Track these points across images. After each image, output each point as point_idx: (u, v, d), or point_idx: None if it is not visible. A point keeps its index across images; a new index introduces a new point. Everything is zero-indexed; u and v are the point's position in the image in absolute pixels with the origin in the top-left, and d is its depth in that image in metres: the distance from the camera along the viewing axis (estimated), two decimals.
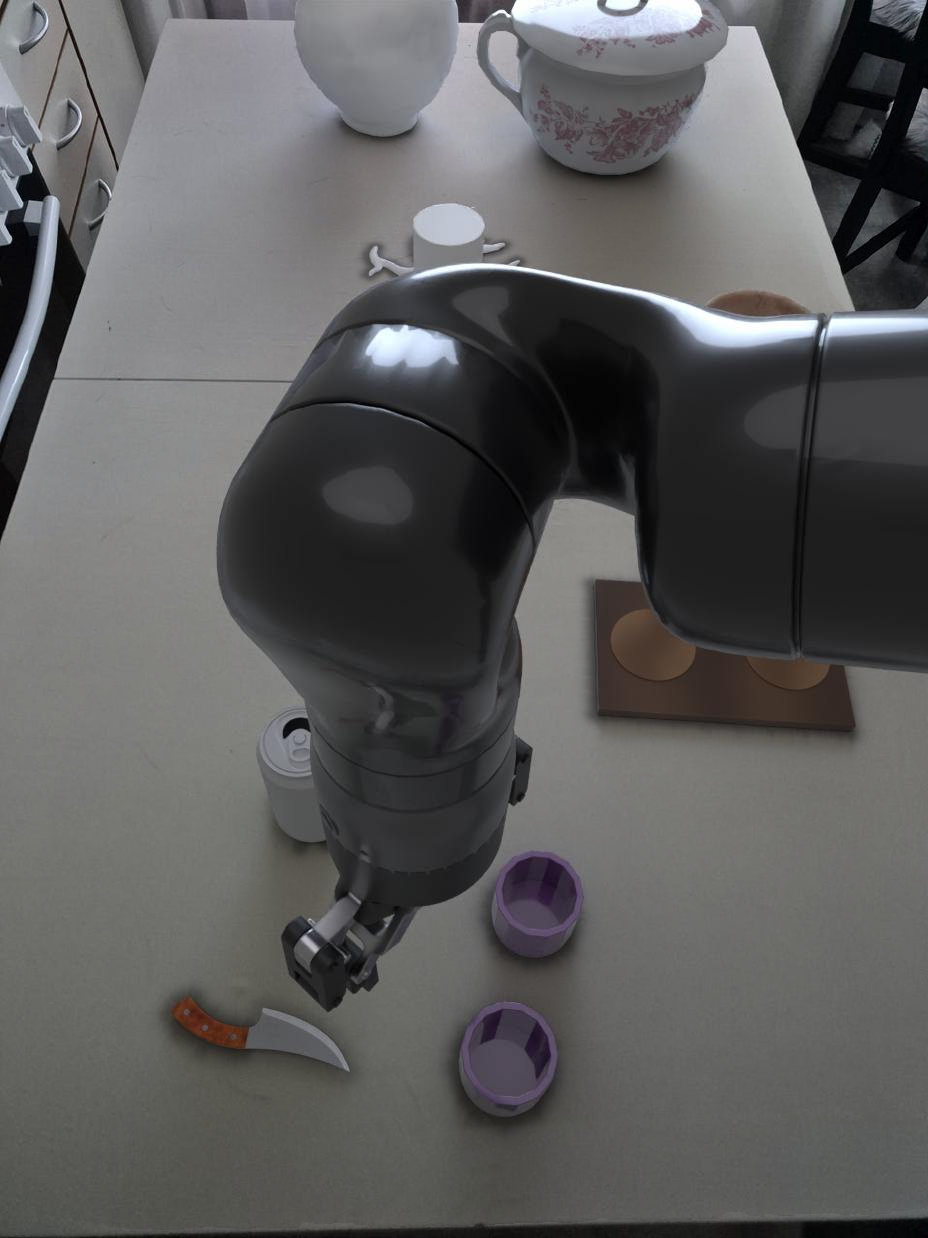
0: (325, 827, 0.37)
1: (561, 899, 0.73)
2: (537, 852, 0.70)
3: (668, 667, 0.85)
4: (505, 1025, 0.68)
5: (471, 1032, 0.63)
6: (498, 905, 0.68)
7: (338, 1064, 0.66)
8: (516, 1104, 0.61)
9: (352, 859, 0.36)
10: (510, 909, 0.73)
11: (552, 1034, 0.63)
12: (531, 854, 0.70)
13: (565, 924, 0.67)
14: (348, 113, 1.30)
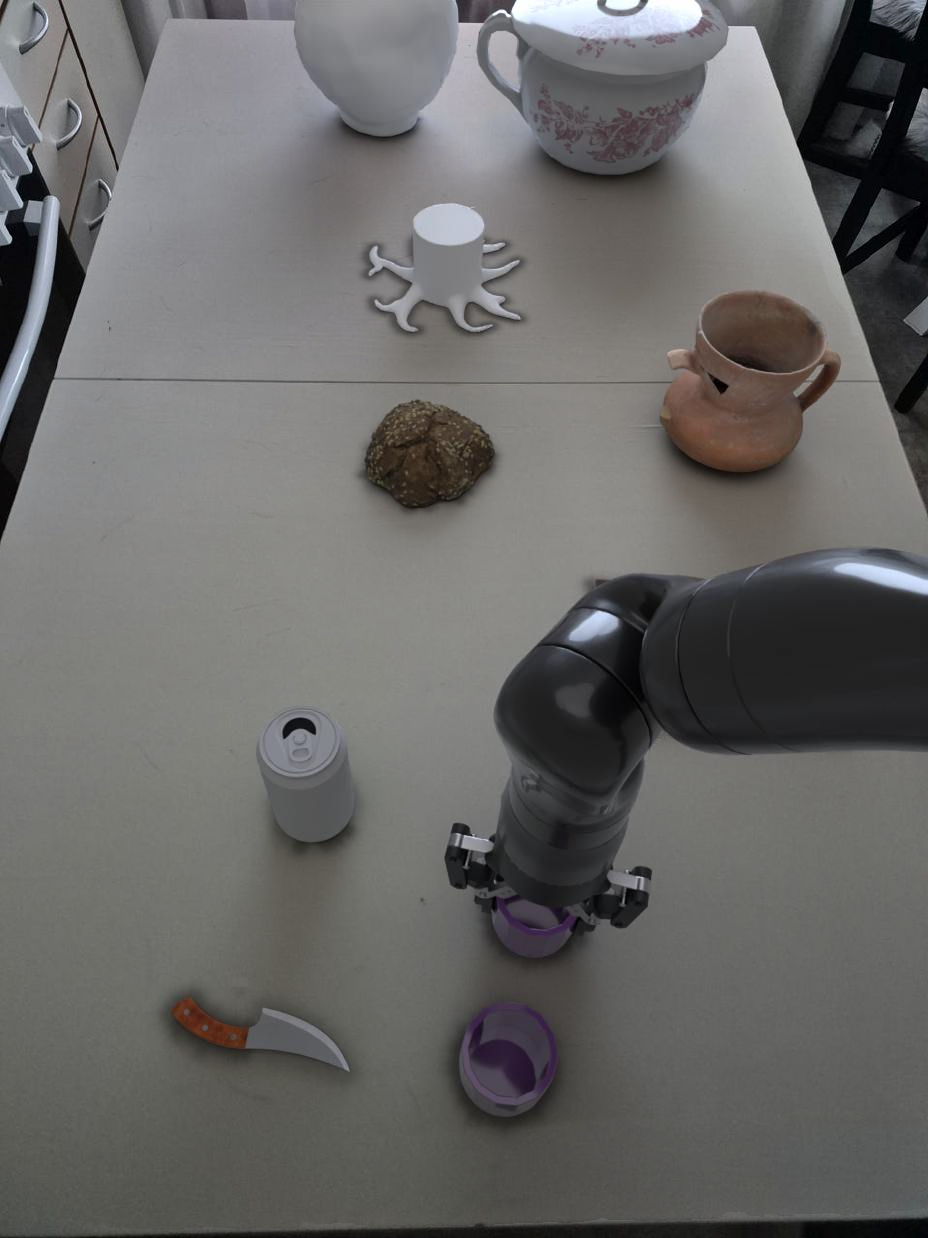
0: None
1: None
2: None
3: None
4: (505, 1025, 0.68)
5: (471, 1032, 0.63)
6: (498, 905, 0.68)
7: (338, 1064, 0.66)
8: (516, 1104, 0.61)
9: None
10: (510, 909, 0.73)
11: (552, 1034, 0.63)
12: None
13: (565, 924, 0.67)
14: (348, 113, 1.30)
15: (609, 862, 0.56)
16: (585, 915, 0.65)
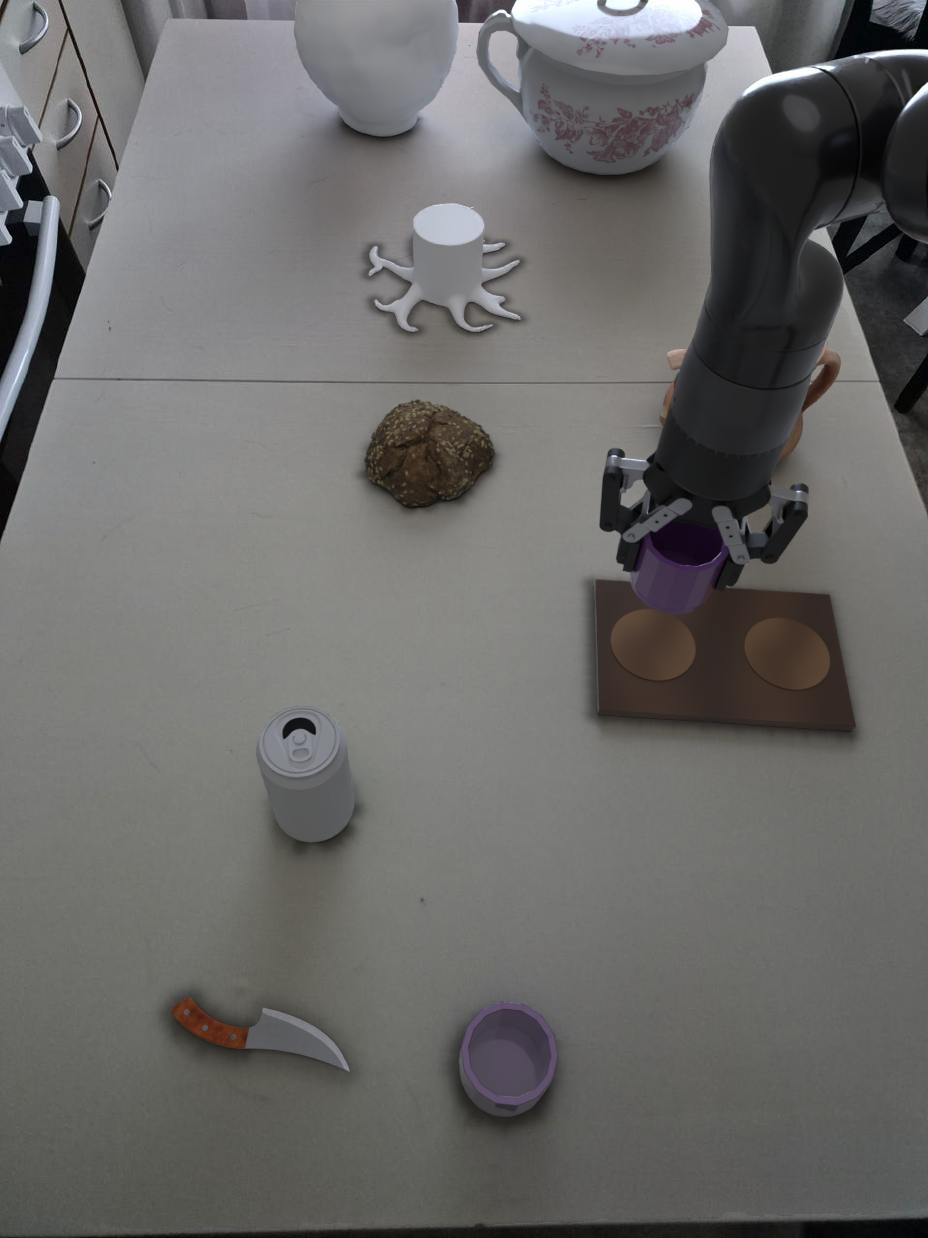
0: None
1: (698, 565, 0.74)
2: None
3: (668, 667, 0.85)
4: (505, 1025, 0.68)
5: (471, 1032, 0.63)
6: (647, 546, 0.69)
7: (338, 1064, 0.66)
8: (516, 1104, 0.61)
9: (668, 410, 0.60)
10: None
11: (552, 1034, 0.63)
12: None
13: (714, 561, 0.68)
14: (348, 113, 1.30)
15: (788, 429, 0.57)
16: (739, 541, 0.66)
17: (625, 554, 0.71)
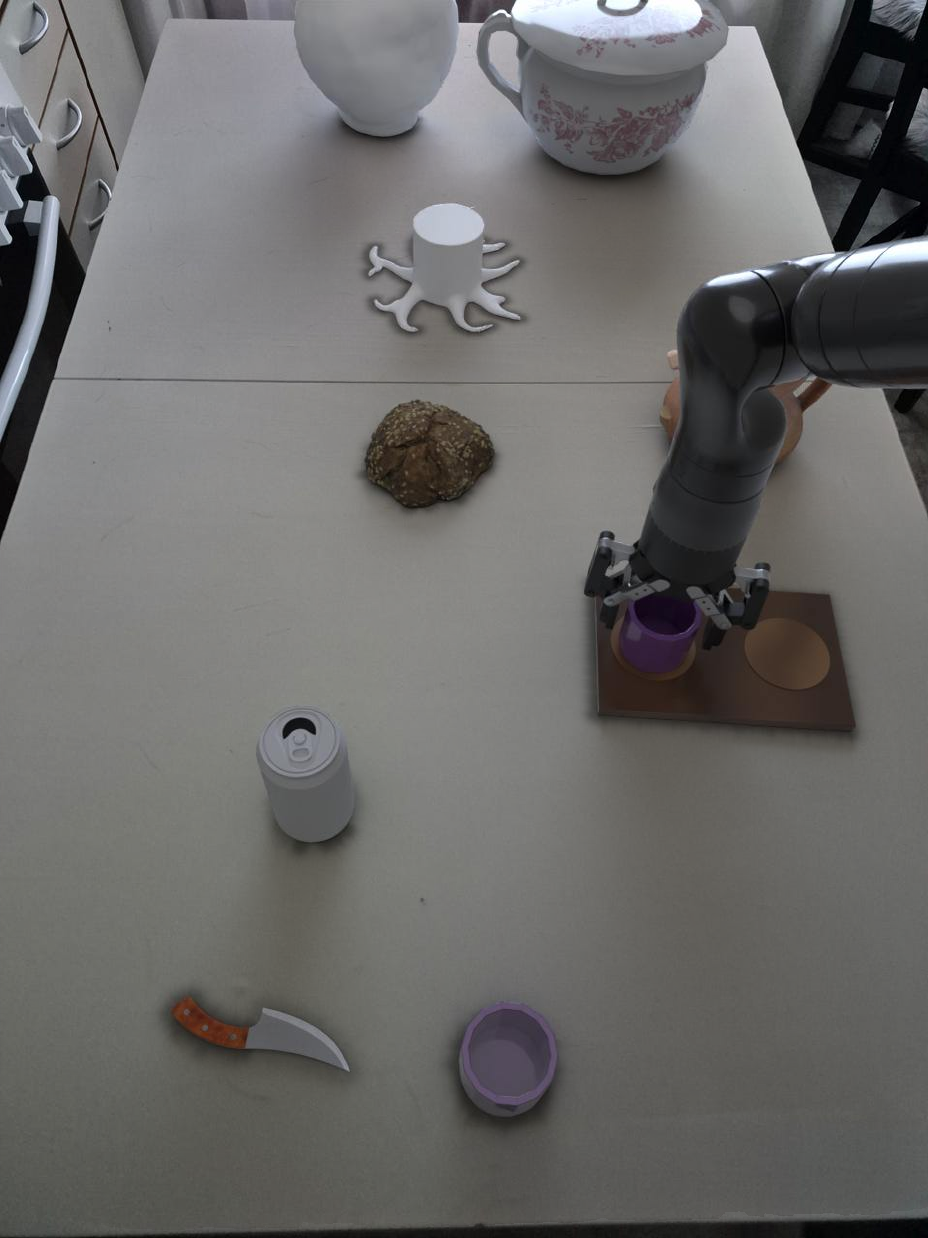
0: None
1: (676, 630, 0.86)
2: None
3: None
4: (505, 1025, 0.68)
5: (471, 1032, 0.63)
6: (631, 618, 0.81)
7: (338, 1064, 0.66)
8: (516, 1104, 0.61)
9: (648, 510, 0.72)
10: None
11: (552, 1034, 0.63)
12: None
13: (688, 631, 0.80)
14: (348, 113, 1.30)
15: (746, 530, 0.69)
16: (717, 612, 0.78)
17: (606, 614, 0.83)
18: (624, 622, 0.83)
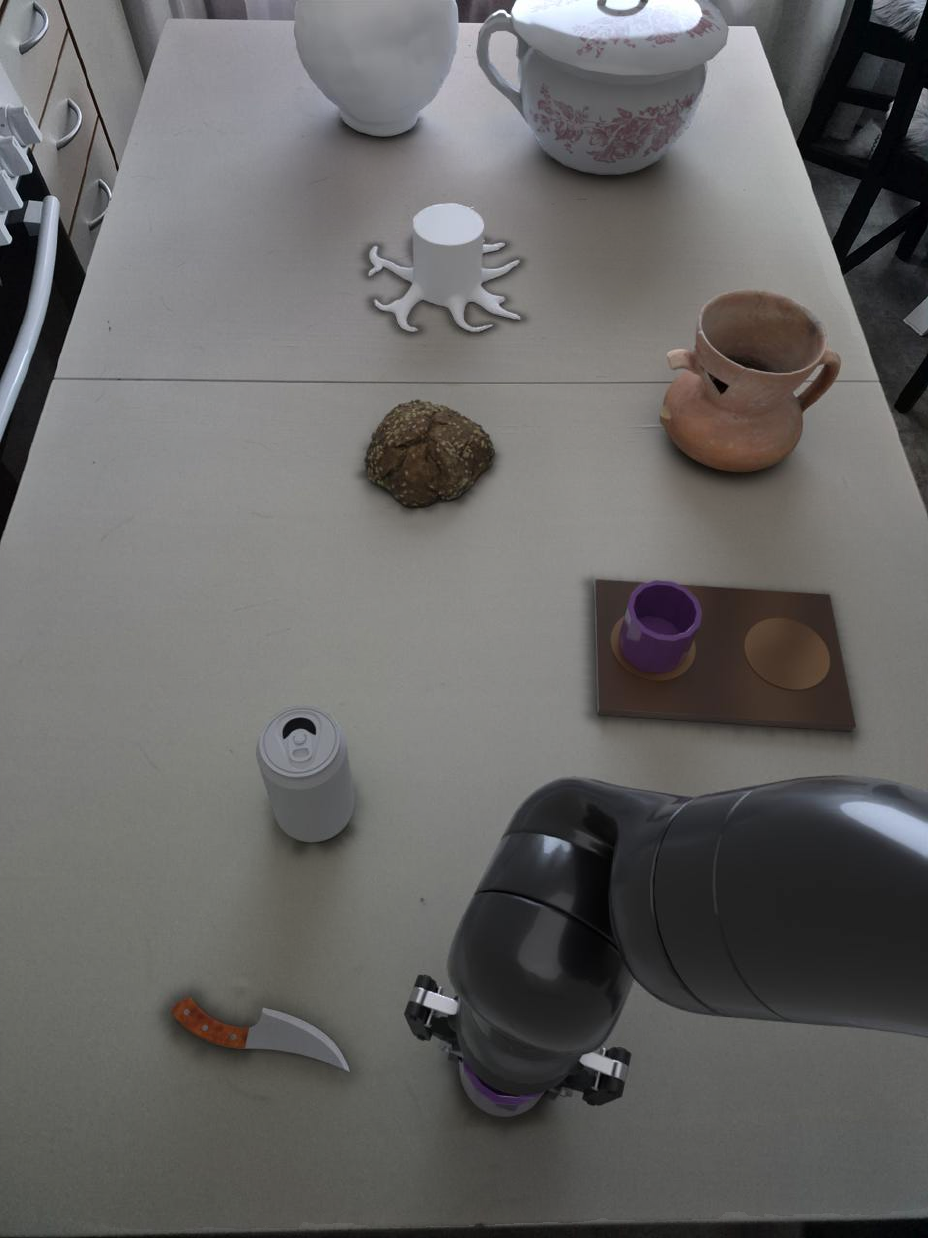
0: None
1: (676, 630, 0.86)
2: (660, 581, 0.83)
3: None
4: None
5: None
6: (631, 618, 0.81)
7: (338, 1064, 0.66)
8: (516, 1104, 0.61)
9: None
10: None
11: None
12: (655, 582, 0.83)
13: (688, 631, 0.80)
14: (348, 113, 1.30)
15: (575, 1063, 0.50)
16: (554, 1091, 0.59)
17: None
18: (624, 622, 0.83)
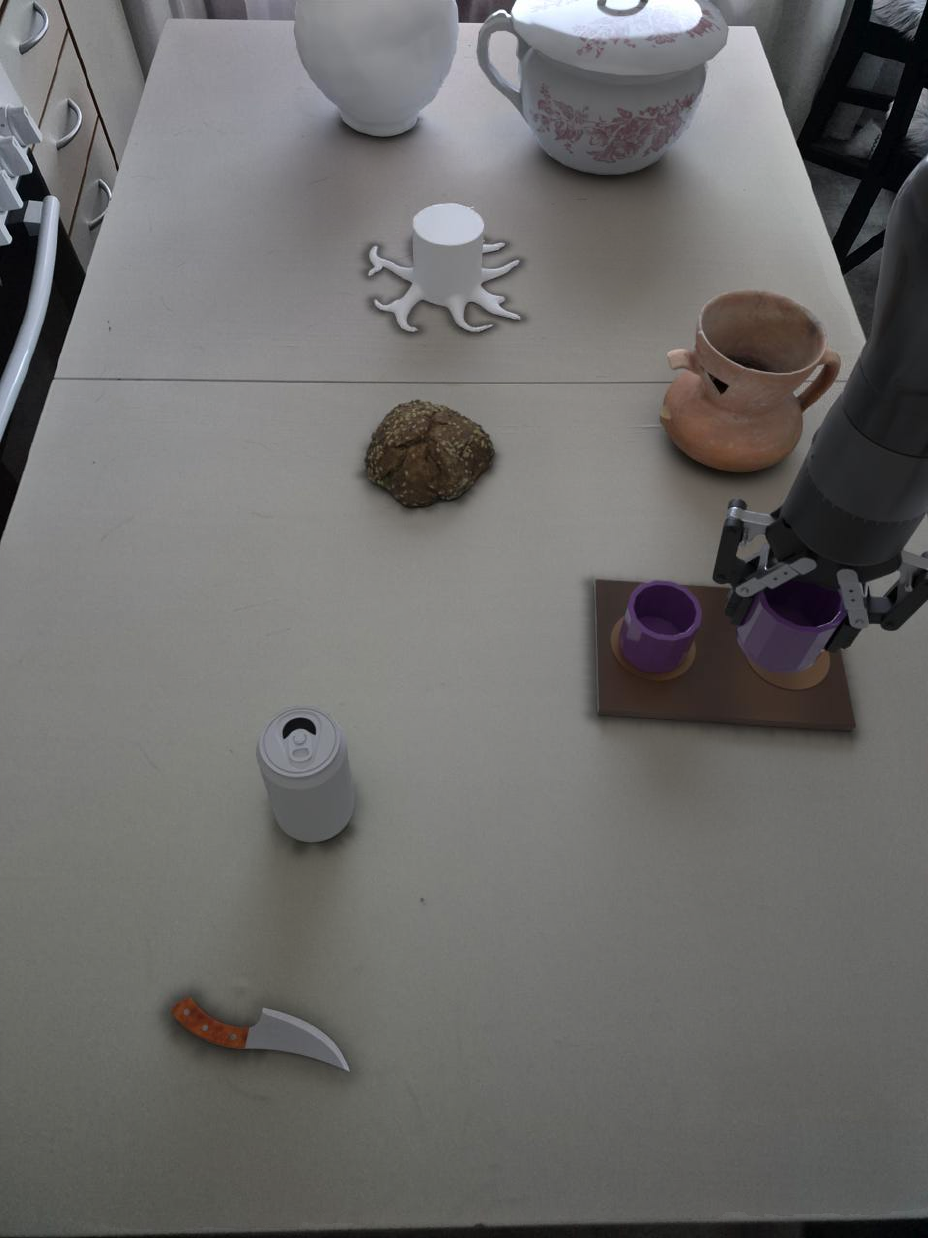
0: None
1: (676, 630, 0.86)
2: (660, 581, 0.83)
3: None
4: (775, 602, 0.71)
5: None
6: (631, 618, 0.81)
7: (338, 1064, 0.66)
8: (817, 631, 0.64)
9: (803, 467, 0.57)
10: None
11: None
12: (655, 582, 0.83)
13: (688, 631, 0.80)
14: (348, 113, 1.30)
15: None
16: (861, 605, 0.63)
17: (735, 607, 0.68)
18: (624, 622, 0.83)
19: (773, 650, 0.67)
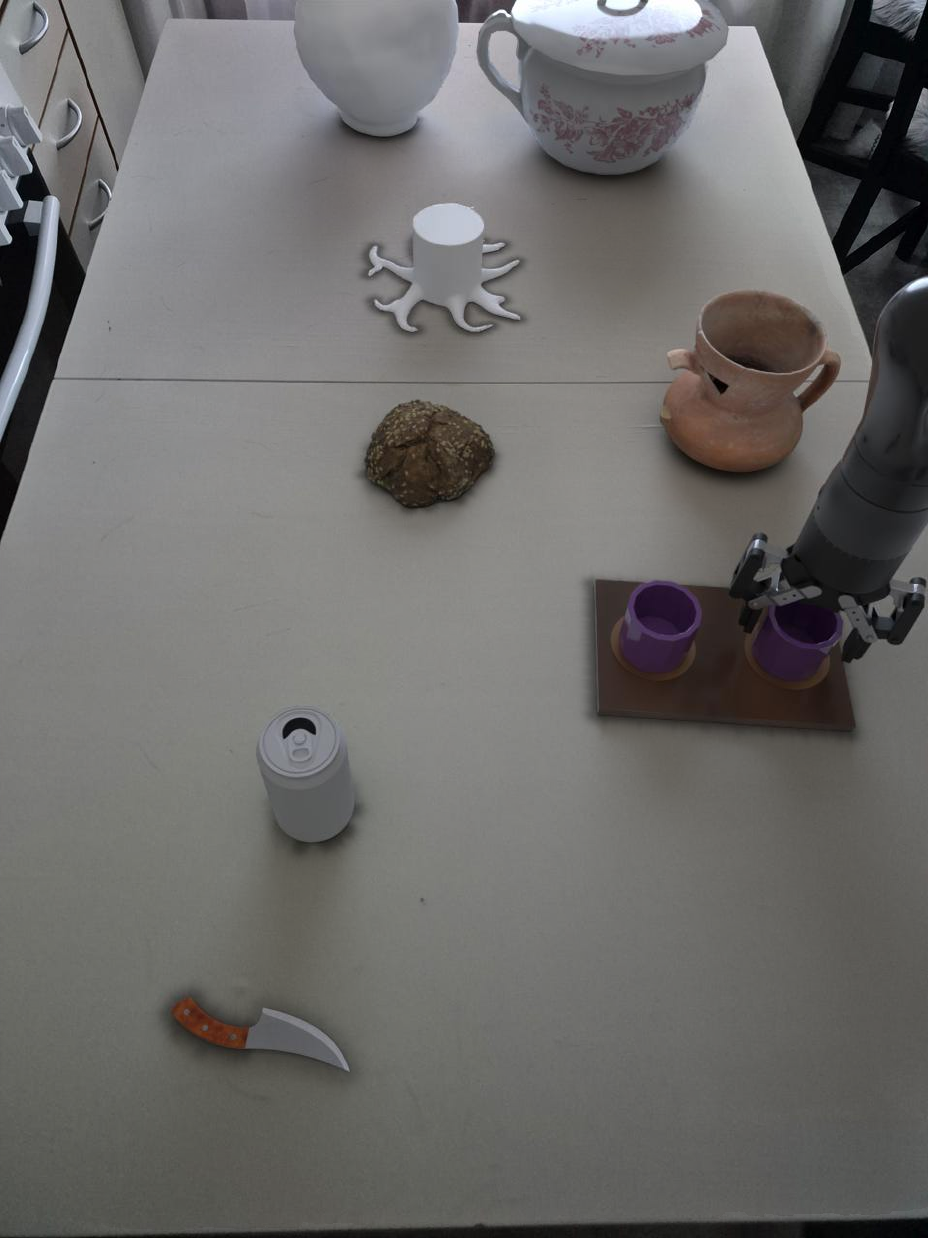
0: None
1: (676, 630, 0.86)
2: (660, 581, 0.83)
3: None
4: (784, 623, 0.87)
5: (774, 605, 0.82)
6: (631, 618, 0.81)
7: (338, 1064, 0.66)
8: (817, 648, 0.80)
9: (811, 515, 0.72)
10: None
11: None
12: (655, 582, 0.83)
13: (688, 631, 0.80)
14: (348, 113, 1.30)
15: (913, 542, 0.68)
16: (865, 623, 0.77)
17: (747, 618, 0.83)
18: (624, 622, 0.83)
19: (782, 662, 0.83)
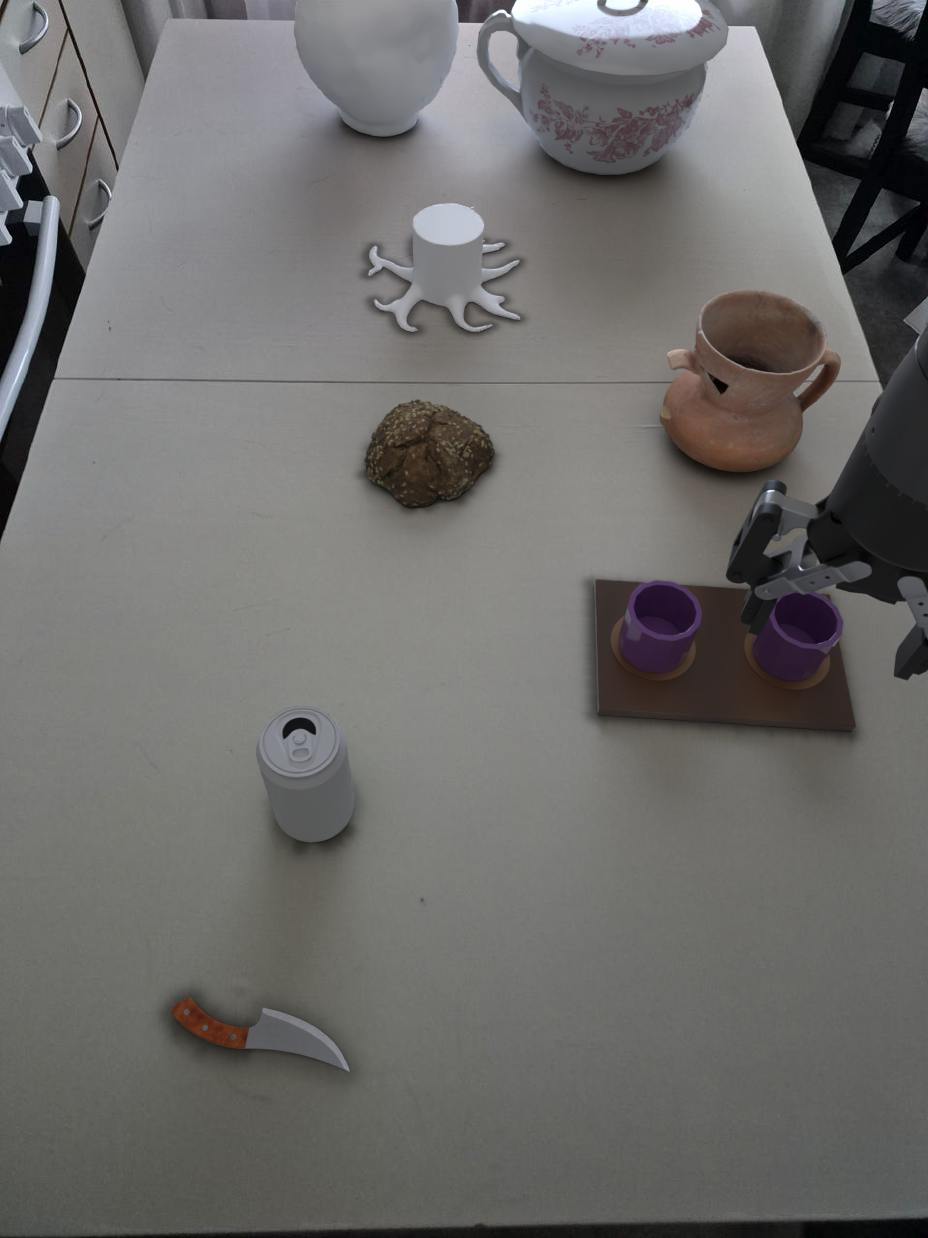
0: None
1: (676, 630, 0.86)
2: (660, 581, 0.83)
3: None
4: (784, 623, 0.87)
5: None
6: (631, 618, 0.81)
7: (338, 1064, 0.66)
8: (817, 648, 0.80)
9: (859, 445, 0.44)
10: None
11: (836, 608, 0.82)
12: (655, 582, 0.83)
13: (688, 631, 0.80)
14: (348, 113, 1.30)
15: None
16: None
17: (753, 613, 0.55)
18: (624, 622, 0.83)
19: (782, 662, 0.83)
